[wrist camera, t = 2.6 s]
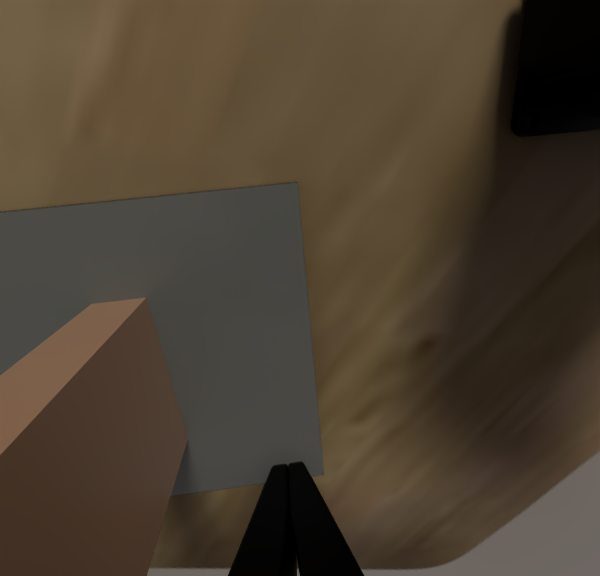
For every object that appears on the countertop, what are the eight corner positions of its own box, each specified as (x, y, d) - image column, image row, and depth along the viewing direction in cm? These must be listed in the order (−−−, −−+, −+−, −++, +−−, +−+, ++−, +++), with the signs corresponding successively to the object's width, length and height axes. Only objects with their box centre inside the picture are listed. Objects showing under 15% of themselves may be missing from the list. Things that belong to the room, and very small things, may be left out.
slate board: (296, 181, 12) (300, 184, 10) (321, 460, 17) (327, 493, 15) (-296, 241, 11) (-401, 256, 9) (-76, 516, 16) (-117, 557, 14)
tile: (146, 297, 12) (-63, 522, 4) (187, 438, 14) (99, 729, 7) (88, 304, 12) (-224, 545, 4) (141, 444, 14) (1, 746, 7)
